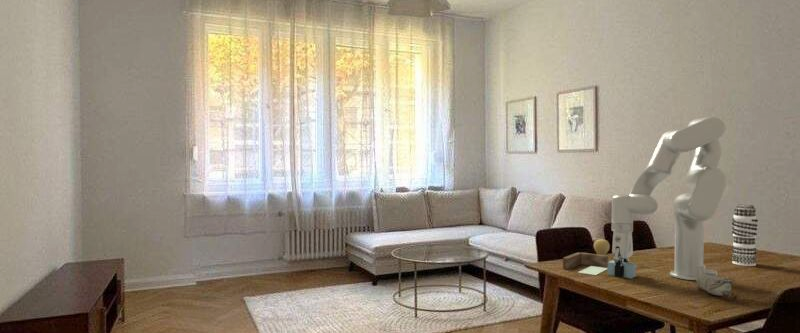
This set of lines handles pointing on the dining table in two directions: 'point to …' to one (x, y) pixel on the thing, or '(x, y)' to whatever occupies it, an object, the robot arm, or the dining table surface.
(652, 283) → the dining table surface
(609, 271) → the block
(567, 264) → the wall far
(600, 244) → the light bulb
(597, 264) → the wall side
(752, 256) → the decorative candle
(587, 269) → the pad
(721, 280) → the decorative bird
